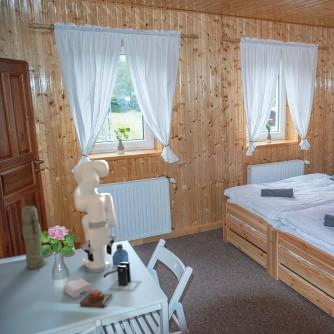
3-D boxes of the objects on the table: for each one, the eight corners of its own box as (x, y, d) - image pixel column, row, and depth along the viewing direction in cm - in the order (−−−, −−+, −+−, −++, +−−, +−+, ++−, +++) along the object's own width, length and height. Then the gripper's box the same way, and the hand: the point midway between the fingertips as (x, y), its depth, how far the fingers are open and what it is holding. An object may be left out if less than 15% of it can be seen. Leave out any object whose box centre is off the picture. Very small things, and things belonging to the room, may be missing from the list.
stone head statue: (36, 270, 213) (28, 210, 206) (22, 266, 218) (13, 207, 211) (50, 264, 221) (43, 205, 213) (36, 260, 226) (29, 203, 218)
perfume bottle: (123, 267, 216) (121, 247, 213) (113, 267, 217) (111, 247, 214) (128, 263, 222) (127, 243, 219) (118, 262, 223) (117, 242, 220)
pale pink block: (77, 282, 200) (92, 292, 191) (59, 290, 193) (74, 300, 184) (76, 274, 199) (91, 283, 190) (58, 281, 192) (73, 291, 183)
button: (90, 297, 179) (89, 293, 179) (94, 293, 183) (93, 289, 183) (97, 297, 179) (97, 294, 179) (101, 293, 183) (101, 290, 182)
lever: (104, 278, 194) (102, 274, 194) (109, 274, 199) (107, 270, 199) (124, 271, 192) (122, 266, 192) (129, 266, 197) (126, 262, 197)
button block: (80, 306, 178) (79, 299, 177) (90, 296, 187) (89, 288, 186) (103, 308, 177) (102, 300, 176) (112, 297, 186) (111, 290, 185)
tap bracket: (109, 289, 193) (107, 267, 190) (117, 280, 202) (115, 259, 199) (132, 290, 192) (131, 269, 189) (139, 281, 200) (138, 260, 198)
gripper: (108, 217, 192) (111, 249, 196) (75, 227, 179) (79, 261, 182) (117, 220, 188) (120, 253, 191) (84, 230, 174) (88, 266, 178)
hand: (100, 257), depth 187 cm, fingers open, 9 cm apart
